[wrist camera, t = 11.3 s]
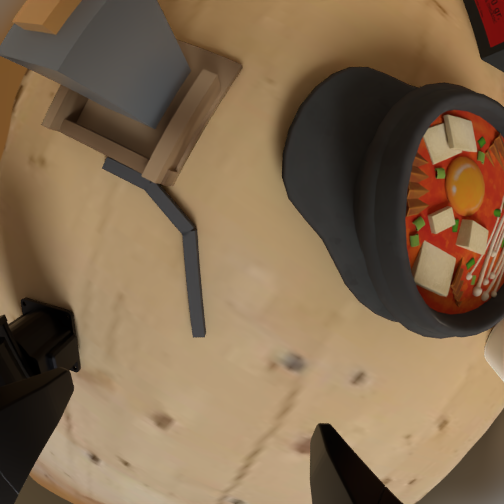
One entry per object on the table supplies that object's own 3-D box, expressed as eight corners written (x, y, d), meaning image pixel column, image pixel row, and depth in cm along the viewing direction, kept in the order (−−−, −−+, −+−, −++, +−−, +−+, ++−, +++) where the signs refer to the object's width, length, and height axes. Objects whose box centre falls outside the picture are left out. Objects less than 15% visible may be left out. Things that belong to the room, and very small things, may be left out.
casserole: (523, 202, 20) (579, 212, 12) (446, 353, 24) (492, 397, 15) (349, 31, 17) (389, -24, 9) (228, 223, 21) (216, 245, 12)
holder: (173, 185, 20) (158, 185, 16) (64, 130, 19) (39, 123, 15) (242, 68, 18) (242, 46, 15) (126, 27, 17) (110, 7, 13)
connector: (155, 129, 18) (41, 62, 6) (103, 106, 18) (-18, 48, 5) (191, 70, 18) (131, -49, 5) (137, 51, 17) (51, -46, 4)
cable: (197, 336, 22) (195, 341, 21) (104, 163, 19) (99, 162, 18) (244, 315, 22) (244, 320, 21) (149, 133, 19) (145, 131, 18)
